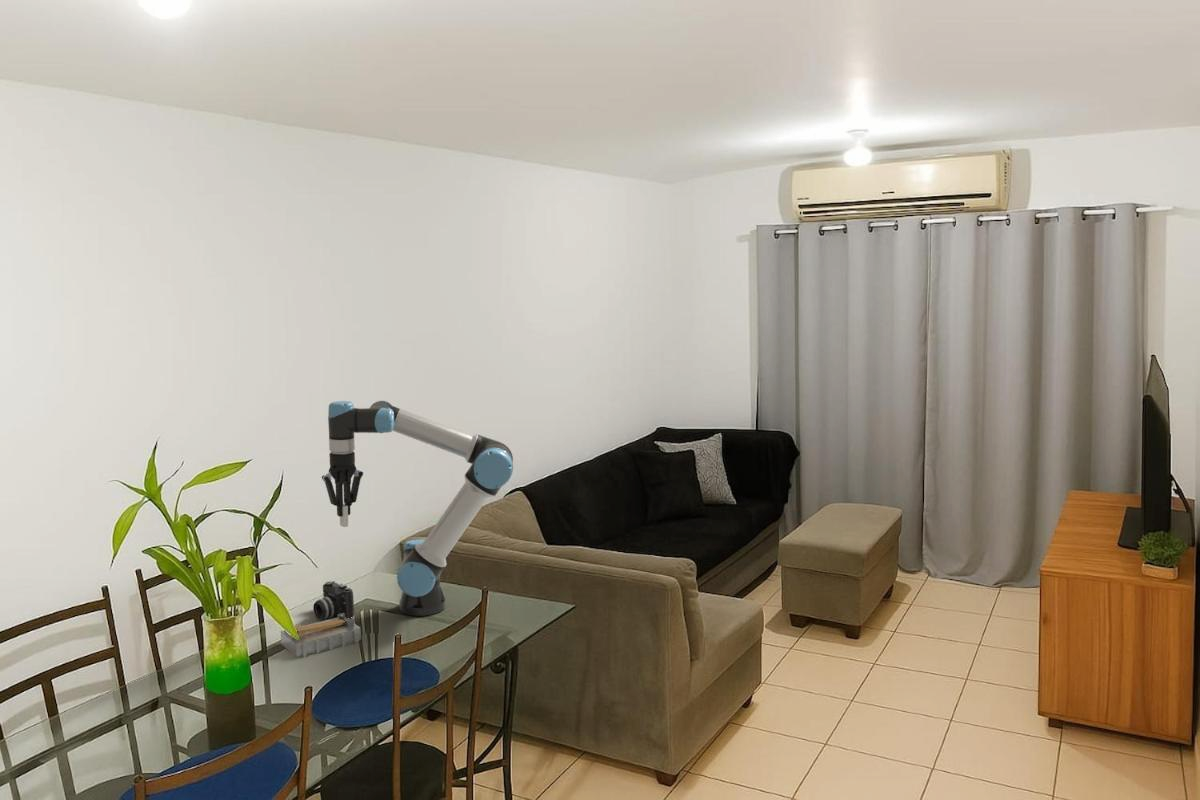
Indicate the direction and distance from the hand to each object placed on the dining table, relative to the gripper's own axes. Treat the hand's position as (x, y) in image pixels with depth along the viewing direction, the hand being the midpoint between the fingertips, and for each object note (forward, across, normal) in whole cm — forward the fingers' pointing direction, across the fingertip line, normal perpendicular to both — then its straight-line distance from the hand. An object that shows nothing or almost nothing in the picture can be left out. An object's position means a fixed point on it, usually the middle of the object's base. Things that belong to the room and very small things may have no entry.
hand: (344, 525), depth 290 cm
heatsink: (+32, +12, +8) cm, 35 cm away
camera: (+33, +1, -10) cm, 34 cm away
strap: (+28, +12, +8) cm, 31 cm away
